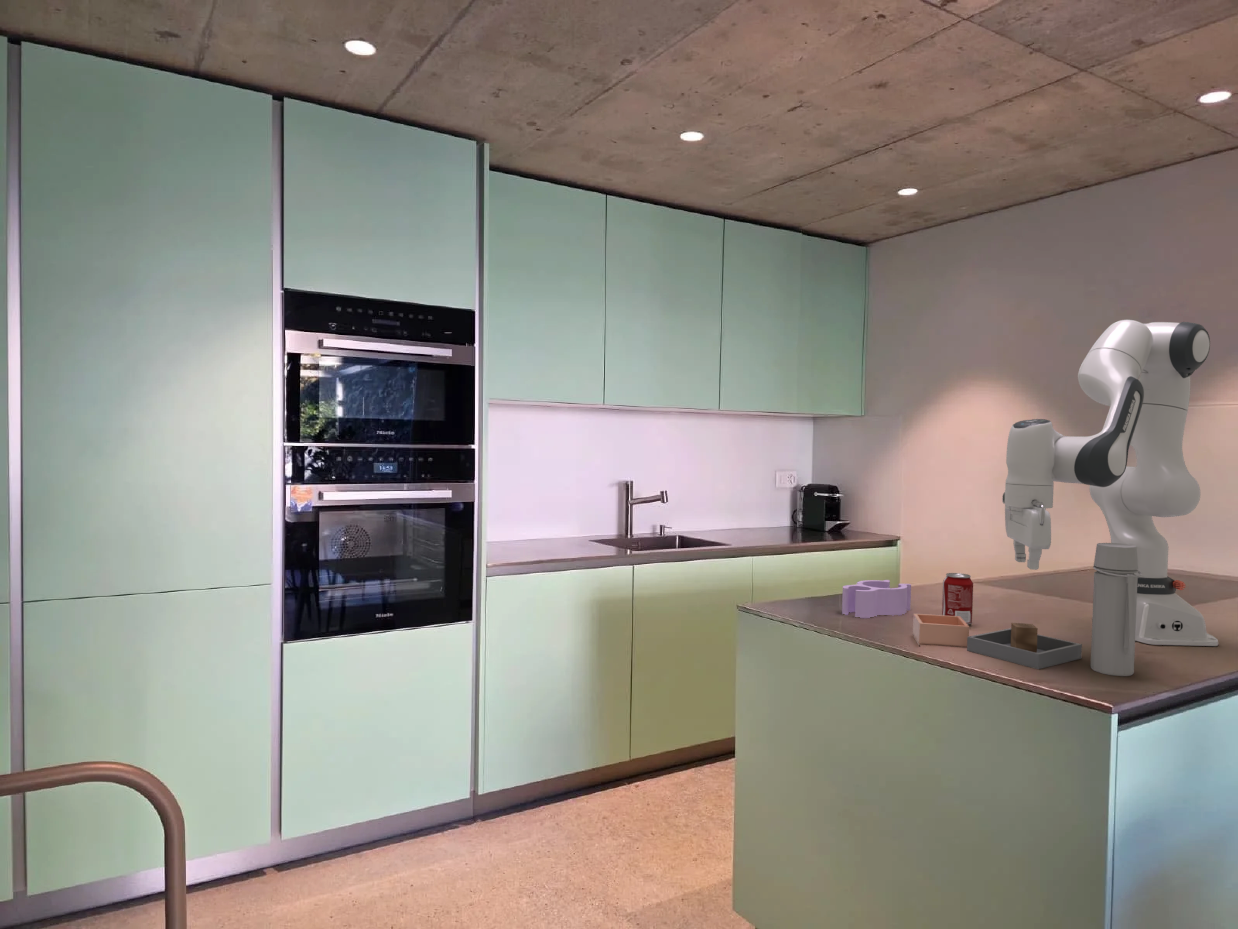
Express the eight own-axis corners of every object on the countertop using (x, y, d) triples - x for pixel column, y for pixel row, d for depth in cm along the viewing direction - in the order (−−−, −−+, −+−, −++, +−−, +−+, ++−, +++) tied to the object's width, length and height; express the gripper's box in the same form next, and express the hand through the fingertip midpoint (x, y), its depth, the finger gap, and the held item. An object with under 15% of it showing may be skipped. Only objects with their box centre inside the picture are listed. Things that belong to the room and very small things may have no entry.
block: (1031, 652, 169) (1032, 624, 168) (1036, 657, 165) (1037, 628, 165) (1010, 651, 170) (1011, 622, 169) (1015, 656, 166) (1016, 627, 165)
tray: (1010, 644, 178) (1010, 628, 178) (1081, 661, 165) (1081, 644, 165) (966, 653, 170) (967, 636, 169) (1038, 672, 157) (1038, 654, 156)
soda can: (974, 628, 192) (976, 578, 192) (944, 626, 194) (946, 576, 193) (968, 621, 199) (970, 573, 198) (939, 620, 200) (940, 571, 200)
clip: (870, 621, 198) (871, 593, 198) (829, 612, 208) (830, 585, 208) (919, 612, 210) (919, 585, 209) (878, 603, 220) (879, 578, 219)
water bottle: (1080, 668, 160) (1085, 542, 159) (1119, 668, 160) (1124, 542, 159) (1109, 682, 151) (1114, 549, 150) (1151, 683, 151) (1156, 549, 150)
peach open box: (959, 638, 182) (960, 616, 182) (968, 649, 172) (969, 626, 172) (912, 635, 184) (913, 613, 184) (918, 646, 174) (919, 623, 174)
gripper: (1061, 503, 155) (1058, 574, 156) (1031, 495, 175) (1029, 558, 176) (1025, 501, 156) (1023, 573, 157) (1000, 494, 176) (998, 557, 177)
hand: (1026, 565), depth 166 cm, fingers open, 8 cm apart
